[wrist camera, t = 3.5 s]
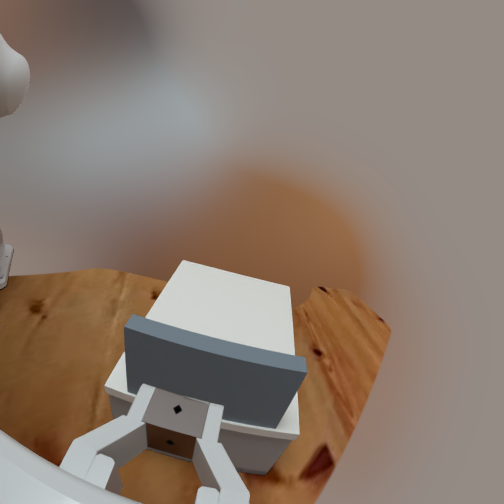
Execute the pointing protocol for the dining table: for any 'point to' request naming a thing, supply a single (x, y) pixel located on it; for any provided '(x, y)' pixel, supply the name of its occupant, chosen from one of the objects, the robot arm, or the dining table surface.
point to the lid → (218, 349)
